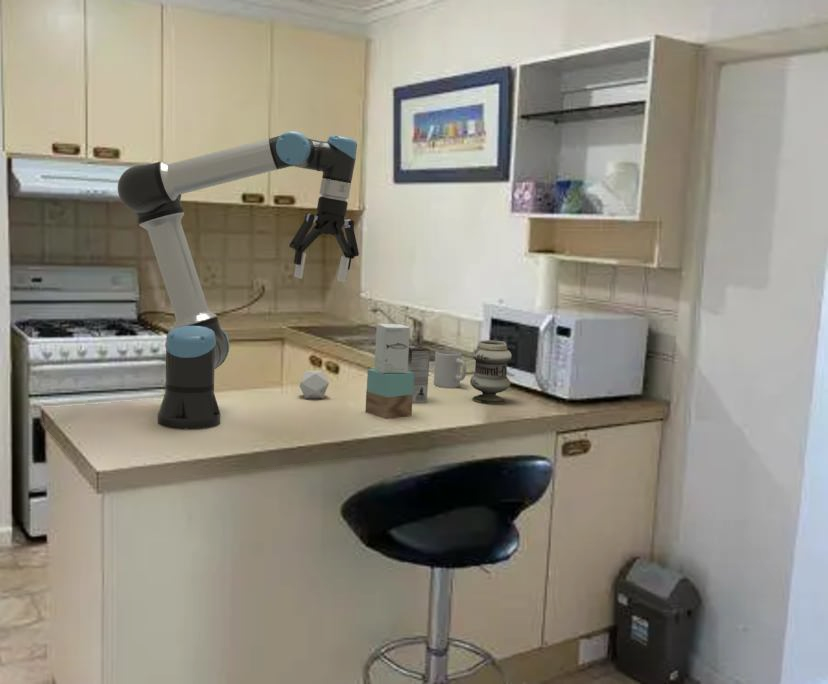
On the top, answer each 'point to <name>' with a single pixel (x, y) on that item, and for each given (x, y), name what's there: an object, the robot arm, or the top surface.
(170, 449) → the top surface
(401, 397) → the block lower
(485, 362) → the apothecary jar
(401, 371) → the supplement box
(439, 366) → the mug
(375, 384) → the block upper
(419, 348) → the coffee box
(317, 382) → the die
